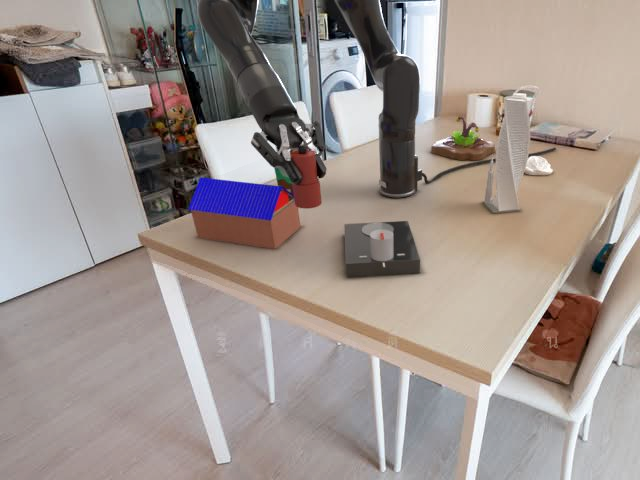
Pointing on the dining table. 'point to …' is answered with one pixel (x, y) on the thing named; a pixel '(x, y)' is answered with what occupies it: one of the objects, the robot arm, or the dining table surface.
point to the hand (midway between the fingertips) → (311, 178)
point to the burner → (376, 228)
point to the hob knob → (382, 245)
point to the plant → (463, 145)
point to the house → (244, 212)
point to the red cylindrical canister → (306, 179)
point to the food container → (284, 176)
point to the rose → (537, 166)
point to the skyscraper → (510, 153)
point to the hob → (364, 265)
